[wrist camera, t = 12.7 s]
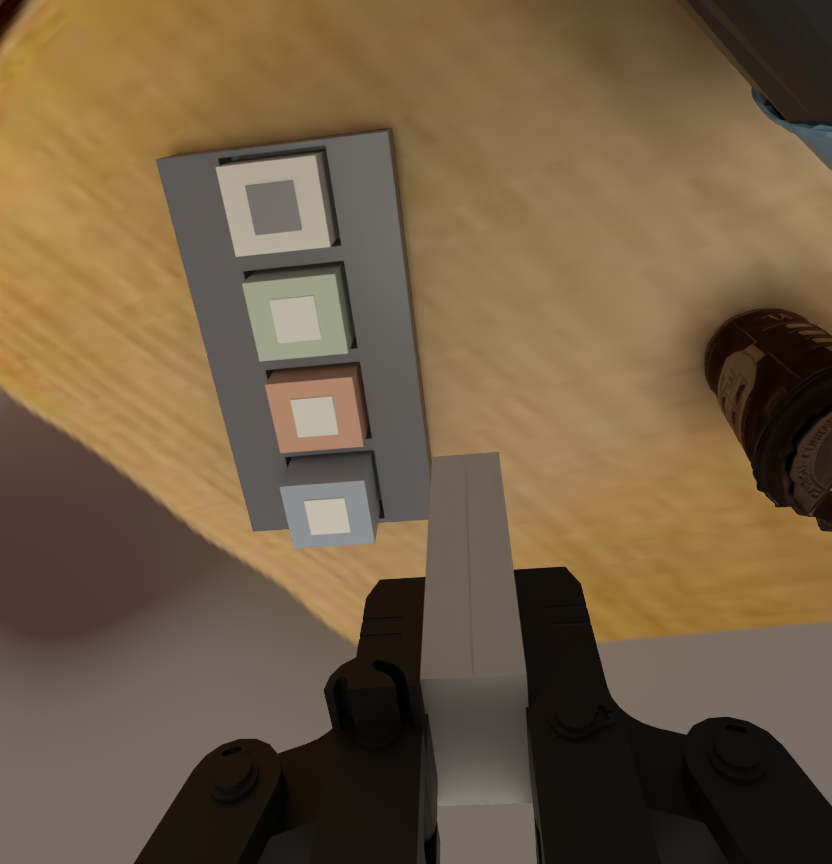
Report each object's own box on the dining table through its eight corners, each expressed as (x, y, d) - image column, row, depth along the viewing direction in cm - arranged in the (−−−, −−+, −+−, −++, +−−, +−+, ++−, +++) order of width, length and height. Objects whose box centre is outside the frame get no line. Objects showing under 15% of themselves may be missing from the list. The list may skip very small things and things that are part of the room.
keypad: (174, 154, 38) (155, 159, 36) (391, 128, 37) (387, 131, 35) (262, 509, 48) (253, 531, 46) (435, 497, 47) (434, 518, 45)
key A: (258, 267, 40) (240, 284, 37) (344, 258, 39) (334, 274, 36) (274, 340, 42) (259, 362, 39) (356, 332, 41) (347, 354, 38)
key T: (279, 361, 42) (264, 385, 39) (359, 354, 42) (351, 378, 39) (292, 426, 44) (279, 454, 41) (370, 420, 44) (363, 447, 41)
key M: (292, 457, 44) (278, 488, 40) (370, 450, 43) (363, 481, 40) (304, 515, 46) (293, 550, 42) (380, 510, 45) (374, 544, 42)
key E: (235, 160, 37) (214, 167, 34) (327, 148, 37) (314, 155, 34) (253, 242, 39) (235, 257, 36) (340, 233, 39) (330, 247, 36)
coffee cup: (708, 444, 44) (799, 572, 33) (659, 335, 41) (740, 434, 30) (848, 382, 42) (1000, 497, 30) (807, 262, 39) (959, 338, 27)
